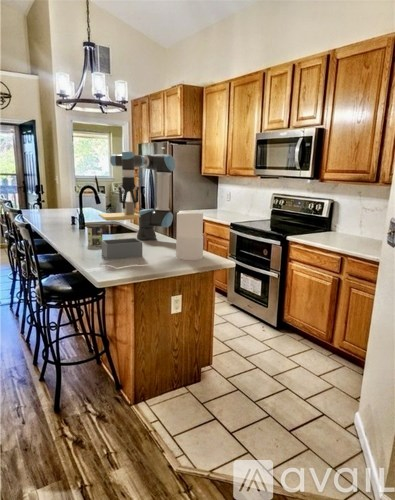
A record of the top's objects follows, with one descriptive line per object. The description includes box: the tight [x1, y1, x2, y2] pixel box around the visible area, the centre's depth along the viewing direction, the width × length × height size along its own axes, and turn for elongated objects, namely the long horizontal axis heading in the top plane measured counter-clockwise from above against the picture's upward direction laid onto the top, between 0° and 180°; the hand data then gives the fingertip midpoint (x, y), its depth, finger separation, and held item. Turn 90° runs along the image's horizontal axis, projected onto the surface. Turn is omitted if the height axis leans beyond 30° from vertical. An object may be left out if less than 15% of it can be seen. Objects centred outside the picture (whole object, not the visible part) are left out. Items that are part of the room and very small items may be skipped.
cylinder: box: [175, 211, 205, 261], centre depth 225 cm, size 17×17×28 cm
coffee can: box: [86, 224, 104, 247], centre depth 251 cm, size 10×10×14 cm
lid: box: [98, 200, 140, 222], centre depth 224 cm, size 23×15×11 cm, turn 119°
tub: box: [100, 237, 143, 261], centre depth 221 cm, size 22×14×10 cm, turn 118°
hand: (129, 213), depth 228 cm, fingers closed on lid, 4 cm apart
